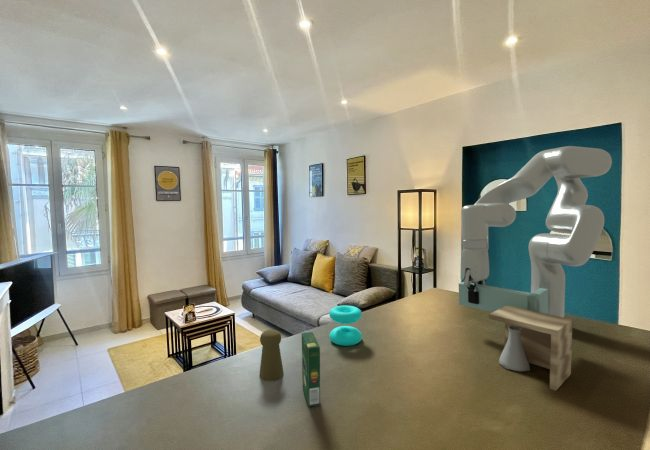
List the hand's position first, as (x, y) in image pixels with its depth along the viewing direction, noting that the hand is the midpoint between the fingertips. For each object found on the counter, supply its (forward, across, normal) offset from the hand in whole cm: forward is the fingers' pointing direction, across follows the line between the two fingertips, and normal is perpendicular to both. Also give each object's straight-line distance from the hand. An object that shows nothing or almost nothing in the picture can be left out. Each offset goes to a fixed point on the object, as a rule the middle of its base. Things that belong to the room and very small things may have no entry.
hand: (476, 301), depth 103 cm
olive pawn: (+8, +62, -22) cm, 67 cm away
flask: (+11, +12, +15) cm, 22 cm away
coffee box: (+9, +60, -8) cm, 61 cm away
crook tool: (+2, -3, +6) cm, 7 cm away
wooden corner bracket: (+11, +12, +19) cm, 25 cm away
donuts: (+9, +34, -25) cm, 43 cm away
